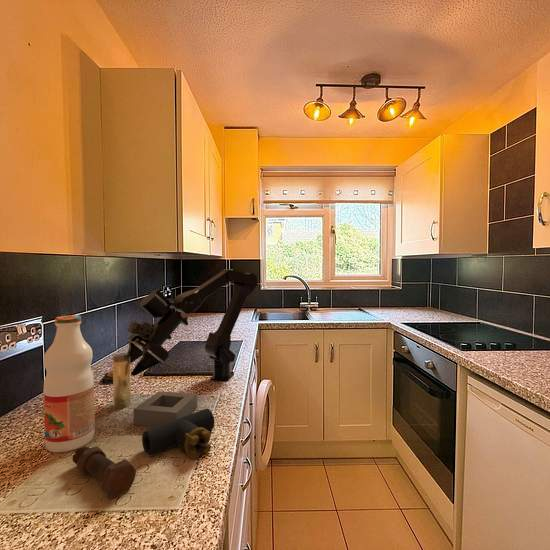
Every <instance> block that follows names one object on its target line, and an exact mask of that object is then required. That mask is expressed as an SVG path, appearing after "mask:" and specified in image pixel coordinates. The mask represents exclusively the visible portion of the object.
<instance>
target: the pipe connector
mask: <svg viewBox="0 0 550 550" xmlns="http://www.w3.org/2000/svg"><path fill="white" fill-rule="evenodd" d="M214 428H215V417H214V415H213V412H212V411H211V410H210V409H209V408H203V409H200V410H198V411H196V412H195V411H194V412H193V413H192V414H190V415H187V416H184V417H182V418H179V419H176V420H173V421H171V422H168V423H165V424H163V425H160V426H157V427H152V428H149V429H147V430H144V431H143V432H142V434H141V435H142V436H141V441H142V448H143V450H144V451H143V452H144V453H146V454H147V456H149V457H151V456H154V455H156V454H159V453H160V452H163V451H165V450H168V449H170V448H173V447H174V446H179V448H182V449H183V450H184V451H185V454H186V455H187V456H189V457H190V458H191V459H193V460H195V459H198V458H199V457H200V454H202V453H203V454H208V453H209V452H211V444H210V443H209V442H210V439H211V431H212V430H213V429H214Z"/></svg>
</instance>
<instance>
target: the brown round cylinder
mask: <svg viewBox="0 0 550 550" xmlns="http://www.w3.org/2000/svg"><path fill="white" fill-rule="evenodd" d="M131 369H132V368H131V364H130V354H127V353H117V354H114V355H113V356H112V370H113V384H112V387H113V389H112V390H113V391H112V392H113V408H114V409H124V408H127V407H130V406H131V404H132V390H131V389H132V386H131V385H132V383H131V382H132V381H131V378H132V375H131V372H132V371H131Z"/></svg>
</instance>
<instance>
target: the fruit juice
mask: <svg viewBox="0 0 550 550" xmlns="http://www.w3.org/2000/svg"><path fill="white" fill-rule="evenodd" d="M81 324H82V316H81V315H76V314H75V315H74V314H73V315H62V316H57V317H55V318H54V325H55V326H56V332H55V336H54V339H53V342H52V344H51V345H50V346H49V347H48V349H47V350H46V352H45V353H44V357H43V365H44V368H45V371H46V376H45V377H44V379H43V380H44V381H43V417H44V418H43V421H44V422H43V426H44V427H43V428H44V430H43V431H44V446H45V449H46V450H47V452H51V453H66V452H71V451H75V450H77V449H79V448H82V447H85V445H87V444H88V443H90V442H91V441H92V440H93V439H94V437H95V434H96V433H95V430H96V428H95V427H96V425H95V424H96V423H95V378H94V372H93V369H92V368H91V366H92V365H91V364H92V362H93V361H92V360H93V356H94V355H93V349H92V346H90V345H89V343H88V342H86V340H85V339H84V337H83V335H82V332H81Z"/></svg>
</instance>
